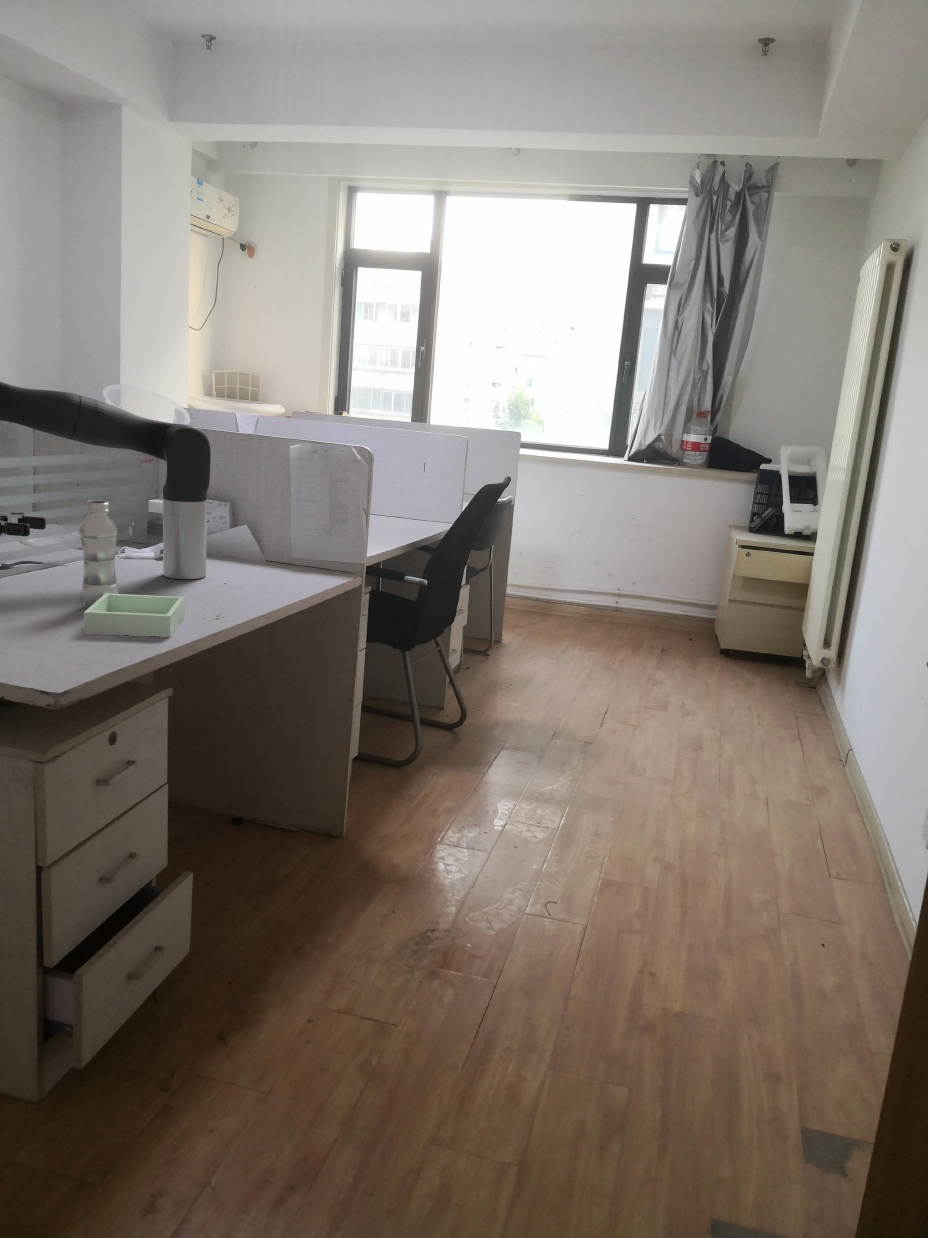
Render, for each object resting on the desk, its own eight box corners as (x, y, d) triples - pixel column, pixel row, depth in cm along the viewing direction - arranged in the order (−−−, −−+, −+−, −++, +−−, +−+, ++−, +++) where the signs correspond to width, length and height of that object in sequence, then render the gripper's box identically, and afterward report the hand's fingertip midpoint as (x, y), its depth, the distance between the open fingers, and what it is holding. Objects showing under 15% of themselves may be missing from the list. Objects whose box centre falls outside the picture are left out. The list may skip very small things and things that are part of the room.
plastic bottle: (126, 608, 166) (125, 503, 161) (95, 613, 160) (92, 505, 155) (105, 601, 169) (103, 498, 164) (73, 607, 163) (70, 500, 158)
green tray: (106, 613, 161) (105, 593, 160) (184, 616, 163) (184, 597, 162) (84, 633, 147) (83, 612, 146) (170, 637, 150) (170, 615, 149)
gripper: (-77, 503, 149) (23, 511, 152) (-42, 494, 163) (50, 501, 165) (-76, 546, 151) (24, 553, 153) (-41, 534, 165) (50, 541, 167)
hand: (37, 526), depth 159 cm, fingers open, 8 cm apart
